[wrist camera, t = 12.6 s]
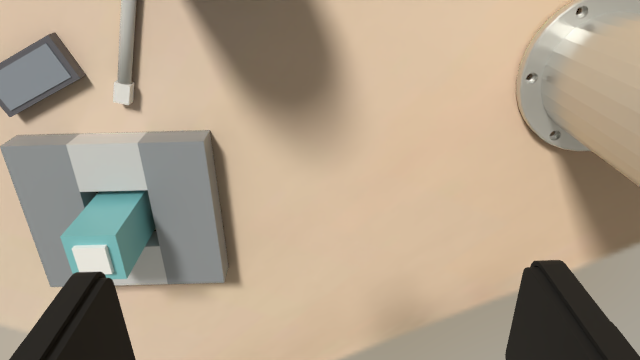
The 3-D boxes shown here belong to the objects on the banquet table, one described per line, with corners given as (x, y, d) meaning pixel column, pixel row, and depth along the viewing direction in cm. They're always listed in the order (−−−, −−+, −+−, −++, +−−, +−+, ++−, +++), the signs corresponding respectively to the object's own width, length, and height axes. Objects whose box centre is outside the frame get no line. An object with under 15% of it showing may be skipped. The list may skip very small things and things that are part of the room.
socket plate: (209, 130, 39) (203, 141, 37) (228, 266, 45) (224, 282, 43) (17, 135, 39) (-1, 146, 37) (63, 270, 45) (50, 287, 43)
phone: (54, 32, 35) (47, 35, 34) (86, 75, 37) (79, 78, 36) (-16, 73, 36) (-25, 77, 35) (17, 113, 38) (9, 117, 37)
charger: (149, 184, 41) (112, 238, 34) (158, 222, 43) (125, 282, 35) (104, 185, 41) (57, 239, 34) (114, 224, 43) (72, 283, 35)
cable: (125, -48, 33) (119, -48, 32) (142, -43, 33) (137, -43, 32) (118, 98, 37) (113, 101, 37) (133, 101, 38) (128, 105, 37)
